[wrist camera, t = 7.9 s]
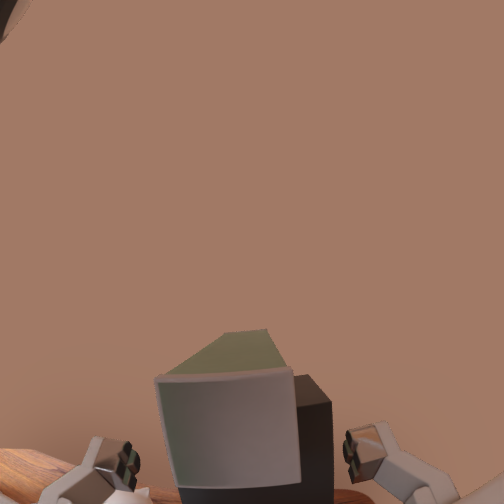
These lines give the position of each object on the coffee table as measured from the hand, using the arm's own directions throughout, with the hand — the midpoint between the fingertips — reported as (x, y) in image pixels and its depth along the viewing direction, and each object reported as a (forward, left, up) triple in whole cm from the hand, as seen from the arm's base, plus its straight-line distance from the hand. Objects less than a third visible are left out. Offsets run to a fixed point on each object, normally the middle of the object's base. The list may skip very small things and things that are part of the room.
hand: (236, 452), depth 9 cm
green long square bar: (-4, +7, +1) cm, 8 cm away
